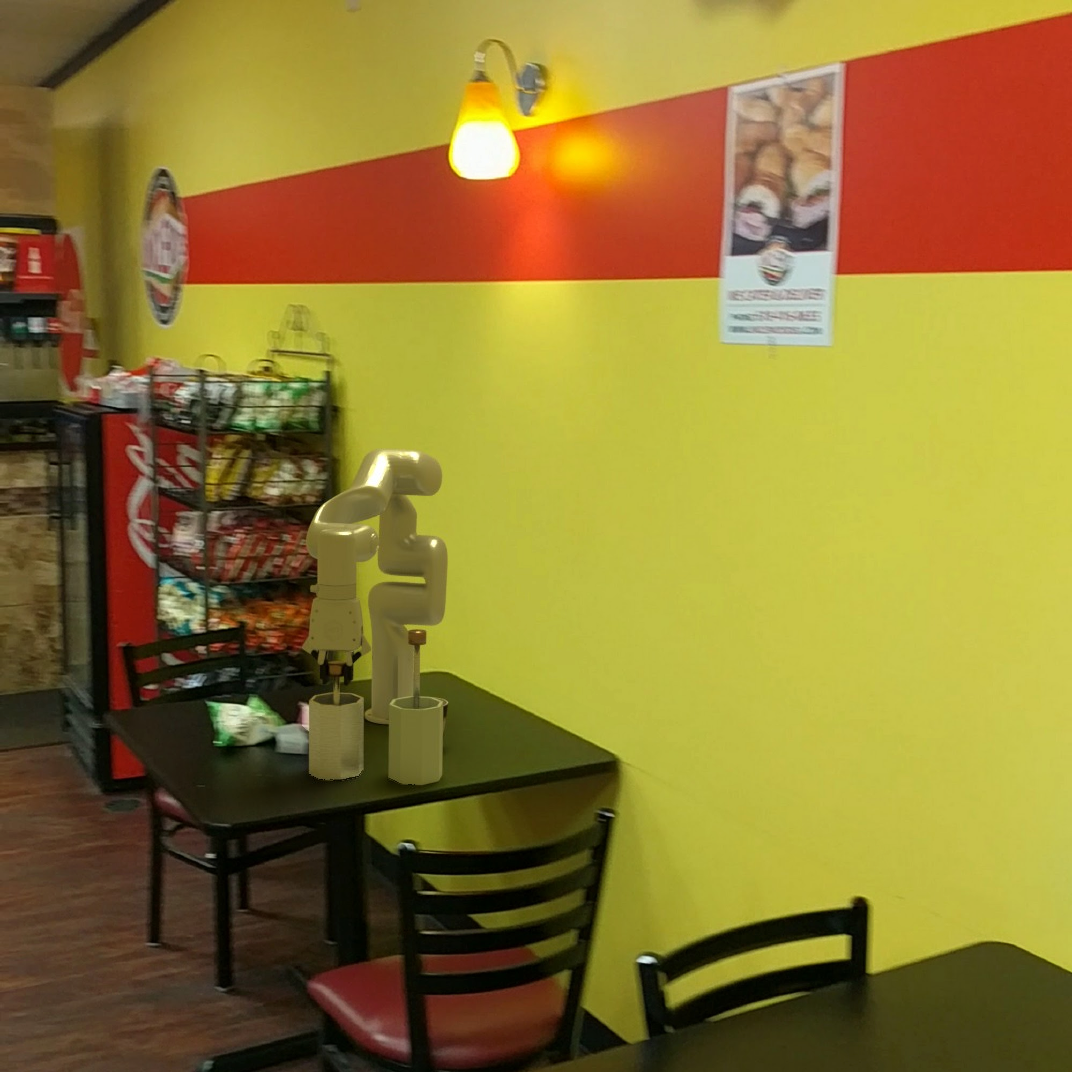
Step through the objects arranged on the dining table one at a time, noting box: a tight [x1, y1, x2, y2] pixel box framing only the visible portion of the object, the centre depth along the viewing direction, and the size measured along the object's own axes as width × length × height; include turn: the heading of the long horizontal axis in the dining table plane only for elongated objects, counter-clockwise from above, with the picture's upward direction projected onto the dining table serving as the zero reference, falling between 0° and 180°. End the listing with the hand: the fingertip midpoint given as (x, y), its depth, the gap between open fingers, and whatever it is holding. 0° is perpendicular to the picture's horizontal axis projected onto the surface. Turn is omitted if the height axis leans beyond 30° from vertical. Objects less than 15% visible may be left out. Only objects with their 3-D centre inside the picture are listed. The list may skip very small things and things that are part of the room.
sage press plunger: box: [406, 628, 427, 709], centre depth 258 cm, size 8×8×17 cm
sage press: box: [388, 696, 444, 786], centre depth 260 cm, size 10×10×15 cm
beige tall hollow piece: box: [308, 691, 365, 781], centre depth 262 cm, size 10×10×15 cm
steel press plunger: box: [327, 660, 346, 705], centre depth 261 cm, size 8×8×17 cm
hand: (336, 682), depth 260 cm, fingers closed on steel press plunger, 3 cm apart
